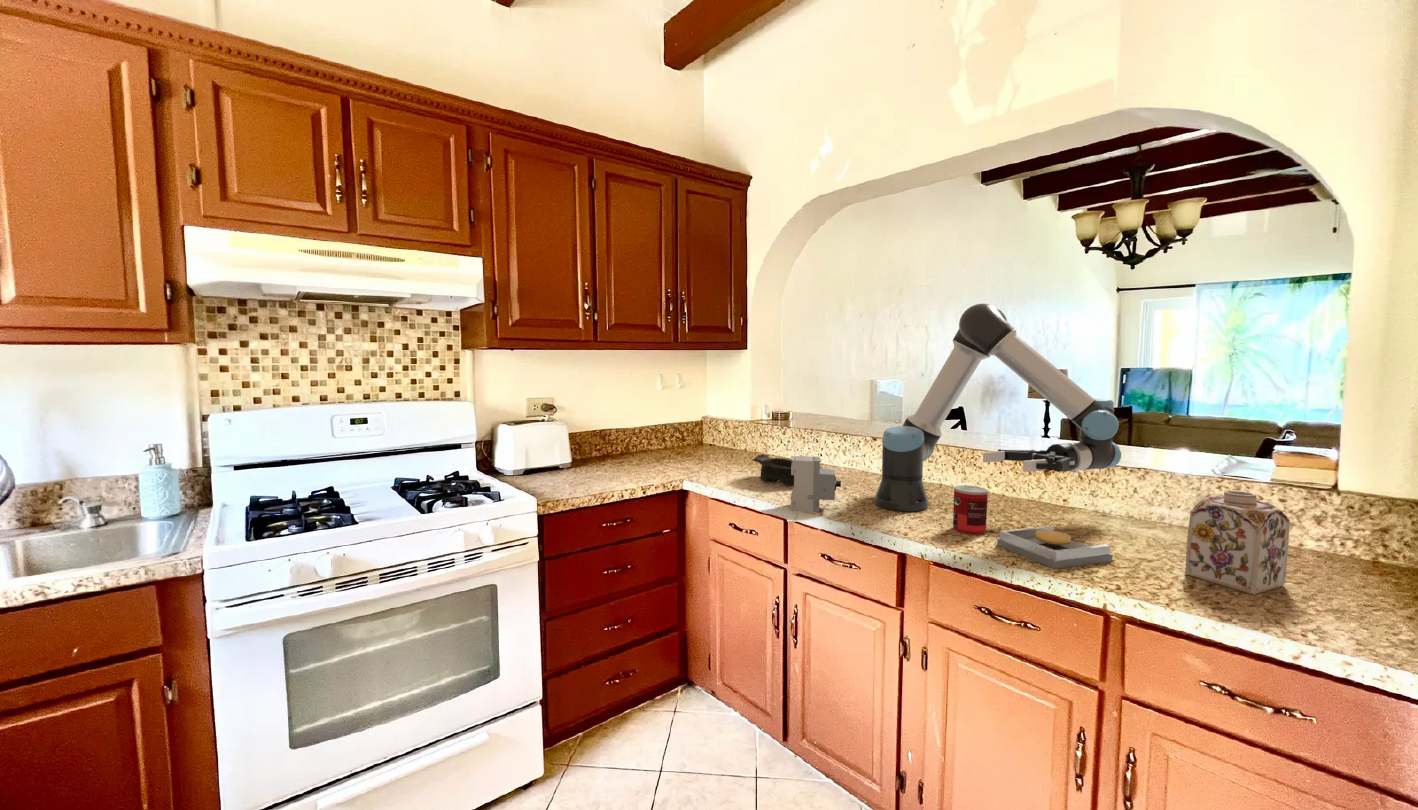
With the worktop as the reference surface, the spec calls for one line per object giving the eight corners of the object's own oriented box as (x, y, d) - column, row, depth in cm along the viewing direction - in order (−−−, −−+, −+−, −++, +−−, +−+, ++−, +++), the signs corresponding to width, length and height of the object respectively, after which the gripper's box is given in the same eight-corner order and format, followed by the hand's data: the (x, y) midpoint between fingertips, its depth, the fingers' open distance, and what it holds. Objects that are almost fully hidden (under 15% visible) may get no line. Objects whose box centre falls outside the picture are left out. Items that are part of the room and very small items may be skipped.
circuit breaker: (840, 513, 164) (841, 461, 162) (790, 510, 166) (791, 460, 165) (839, 506, 171) (840, 457, 170) (792, 504, 174) (792, 455, 172)
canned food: (959, 524, 153) (961, 483, 152) (990, 530, 147) (992, 488, 146) (947, 530, 148) (949, 488, 147) (979, 537, 142) (981, 493, 141)
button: (1051, 538, 134) (1052, 528, 134) (1078, 548, 128) (1078, 537, 127) (1027, 541, 132) (1028, 531, 132) (1053, 551, 126) (1054, 540, 126)
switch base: (1050, 539, 140) (1050, 525, 140) (1112, 561, 125) (1113, 545, 124) (996, 545, 136) (997, 530, 135) (1054, 568, 120) (1055, 552, 120)
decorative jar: (1254, 596, 107) (1262, 502, 105) (1182, 574, 117) (1188, 489, 116) (1287, 586, 111) (1295, 496, 110) (1215, 566, 122) (1221, 483, 120)
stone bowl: (739, 481, 204) (740, 456, 204) (777, 476, 223) (778, 452, 223) (799, 491, 188) (800, 463, 188) (834, 484, 207) (835, 458, 207)
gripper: (1110, 480, 143) (1042, 485, 137) (1029, 462, 167) (968, 467, 161) (1111, 450, 142) (1043, 455, 136) (1030, 437, 166) (969, 440, 160)
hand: (1003, 461), depth 148 cm, fingers open, 13 cm apart
